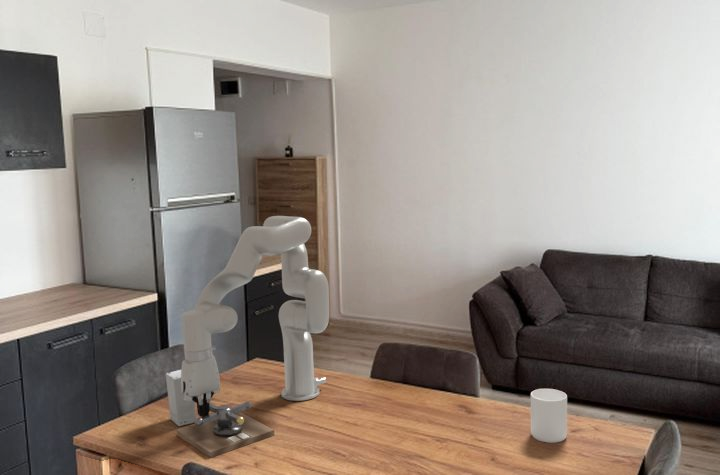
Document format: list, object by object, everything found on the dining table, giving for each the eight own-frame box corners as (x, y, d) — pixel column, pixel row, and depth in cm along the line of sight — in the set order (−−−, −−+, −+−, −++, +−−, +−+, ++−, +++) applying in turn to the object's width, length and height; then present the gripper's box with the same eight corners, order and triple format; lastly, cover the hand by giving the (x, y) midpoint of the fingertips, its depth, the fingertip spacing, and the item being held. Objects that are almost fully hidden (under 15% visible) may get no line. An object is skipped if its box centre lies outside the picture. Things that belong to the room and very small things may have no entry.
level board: (238, 415, 203) (238, 410, 203) (274, 435, 188) (274, 429, 187) (177, 435, 190) (176, 429, 190) (210, 457, 175) (210, 451, 175)
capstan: (180, 430, 189) (178, 409, 188) (234, 411, 201) (232, 392, 201) (214, 449, 176) (213, 426, 175) (270, 427, 188) (268, 406, 188)
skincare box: (197, 422, 199) (193, 374, 197) (177, 427, 196) (173, 379, 194) (187, 414, 206) (184, 367, 204) (168, 418, 202) (165, 371, 201)
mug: (530, 441, 177) (529, 399, 176) (532, 424, 189) (531, 384, 187) (567, 445, 174) (567, 402, 173) (566, 426, 186) (566, 386, 184)
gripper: (215, 345, 194) (220, 405, 197) (167, 357, 185) (173, 420, 187) (228, 350, 188) (233, 411, 191) (179, 363, 179) (185, 428, 181)
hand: (204, 416), depth 189 cm, fingers closed
